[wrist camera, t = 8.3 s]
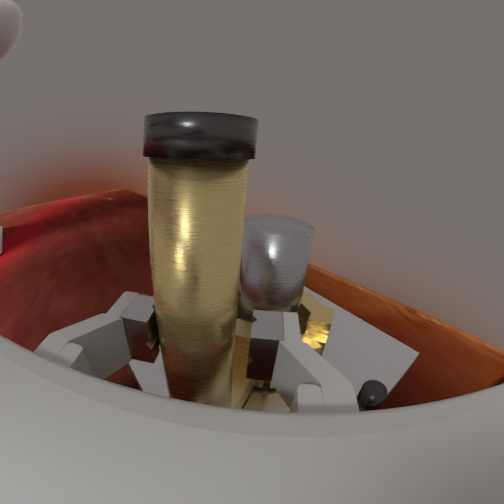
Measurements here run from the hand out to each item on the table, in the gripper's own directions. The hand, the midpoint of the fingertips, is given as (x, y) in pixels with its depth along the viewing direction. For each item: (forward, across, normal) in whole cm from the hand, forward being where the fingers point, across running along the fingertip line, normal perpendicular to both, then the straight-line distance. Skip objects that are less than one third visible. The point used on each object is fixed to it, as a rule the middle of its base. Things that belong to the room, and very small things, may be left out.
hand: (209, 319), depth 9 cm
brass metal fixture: (+5, +2, -7) cm, 9 cm away
